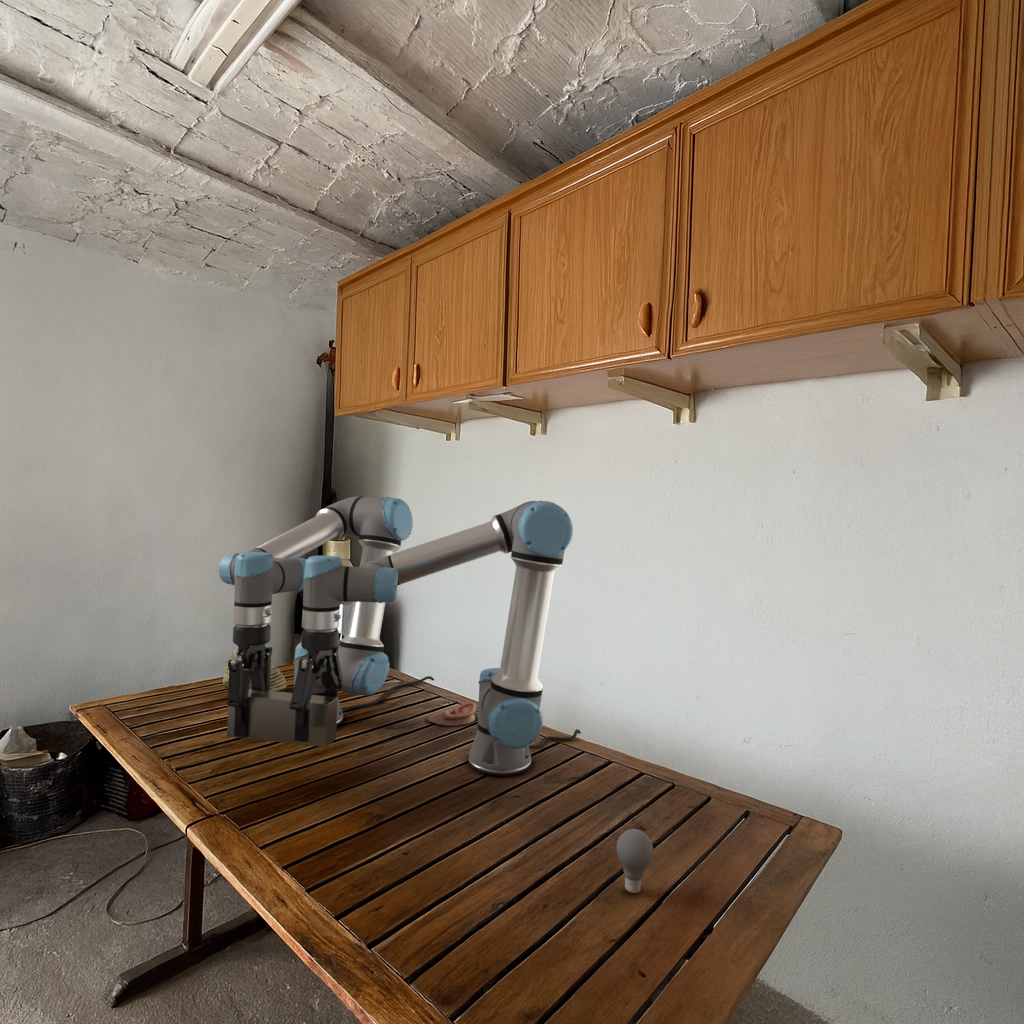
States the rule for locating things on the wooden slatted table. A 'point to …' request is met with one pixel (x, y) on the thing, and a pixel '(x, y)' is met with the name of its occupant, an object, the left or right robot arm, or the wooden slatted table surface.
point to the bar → (286, 718)
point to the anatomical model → (455, 715)
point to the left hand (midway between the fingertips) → (248, 731)
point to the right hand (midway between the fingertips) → (316, 729)
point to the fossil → (275, 676)
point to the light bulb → (634, 857)
